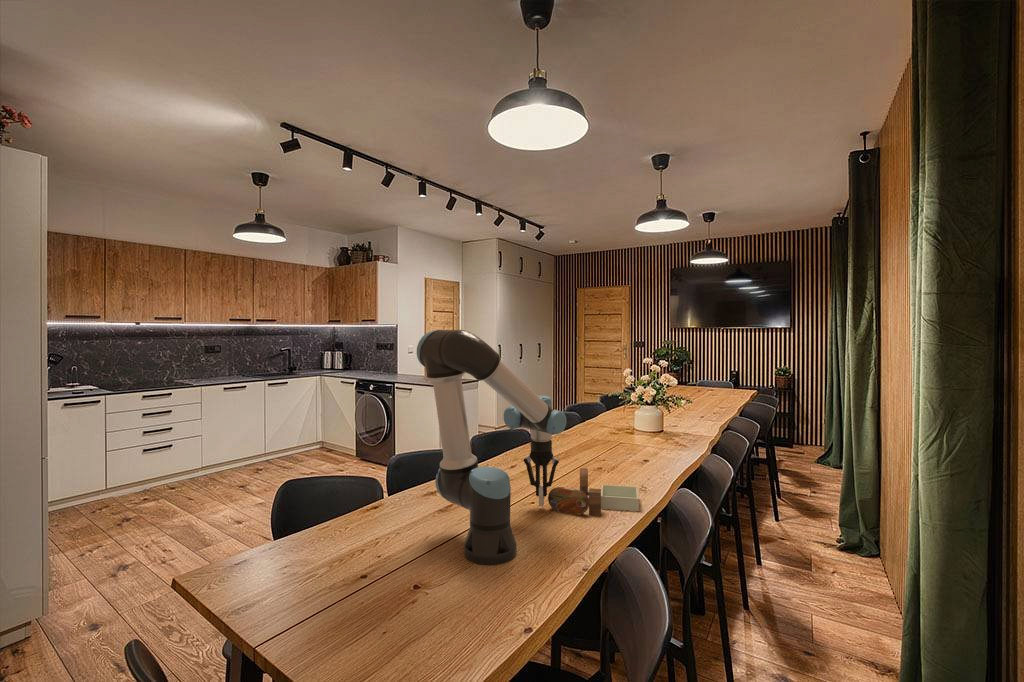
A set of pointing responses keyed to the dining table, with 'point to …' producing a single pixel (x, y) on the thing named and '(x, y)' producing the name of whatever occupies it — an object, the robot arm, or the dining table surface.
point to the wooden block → (594, 501)
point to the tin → (568, 500)
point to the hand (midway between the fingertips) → (541, 505)
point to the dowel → (584, 480)
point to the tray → (619, 498)
